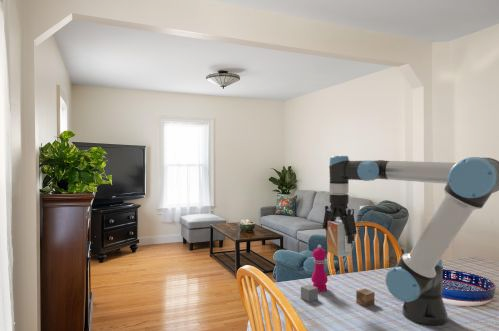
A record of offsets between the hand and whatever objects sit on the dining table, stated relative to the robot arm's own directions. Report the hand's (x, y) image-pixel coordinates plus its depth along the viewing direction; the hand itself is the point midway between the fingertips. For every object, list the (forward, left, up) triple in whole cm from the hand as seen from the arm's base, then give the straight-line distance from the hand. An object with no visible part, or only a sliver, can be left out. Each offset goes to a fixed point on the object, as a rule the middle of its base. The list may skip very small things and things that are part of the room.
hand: (338, 248), depth 147 cm
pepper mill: (+16, -5, -23) cm, 28 cm away
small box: (0, 0, -2) cm, 2 cm away
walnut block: (-6, -9, -22) cm, 25 cm away
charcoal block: (+10, +7, -22) cm, 26 cm away
